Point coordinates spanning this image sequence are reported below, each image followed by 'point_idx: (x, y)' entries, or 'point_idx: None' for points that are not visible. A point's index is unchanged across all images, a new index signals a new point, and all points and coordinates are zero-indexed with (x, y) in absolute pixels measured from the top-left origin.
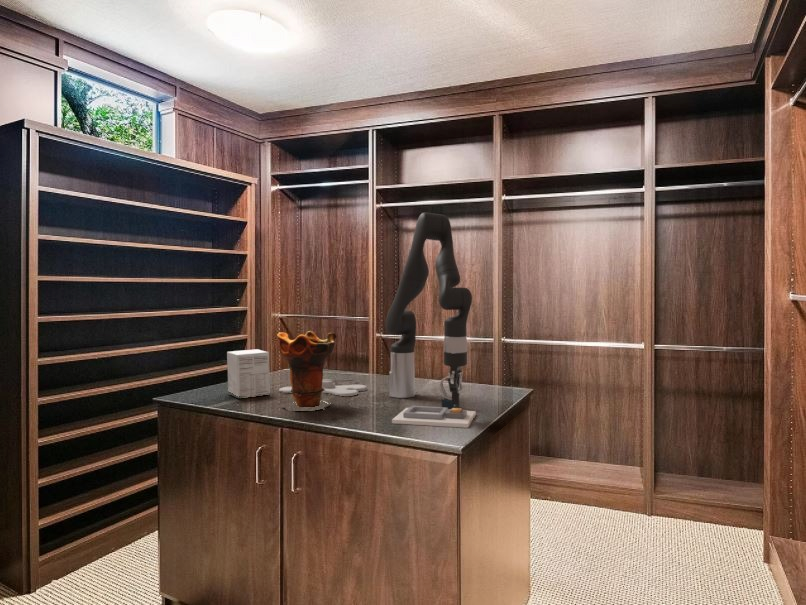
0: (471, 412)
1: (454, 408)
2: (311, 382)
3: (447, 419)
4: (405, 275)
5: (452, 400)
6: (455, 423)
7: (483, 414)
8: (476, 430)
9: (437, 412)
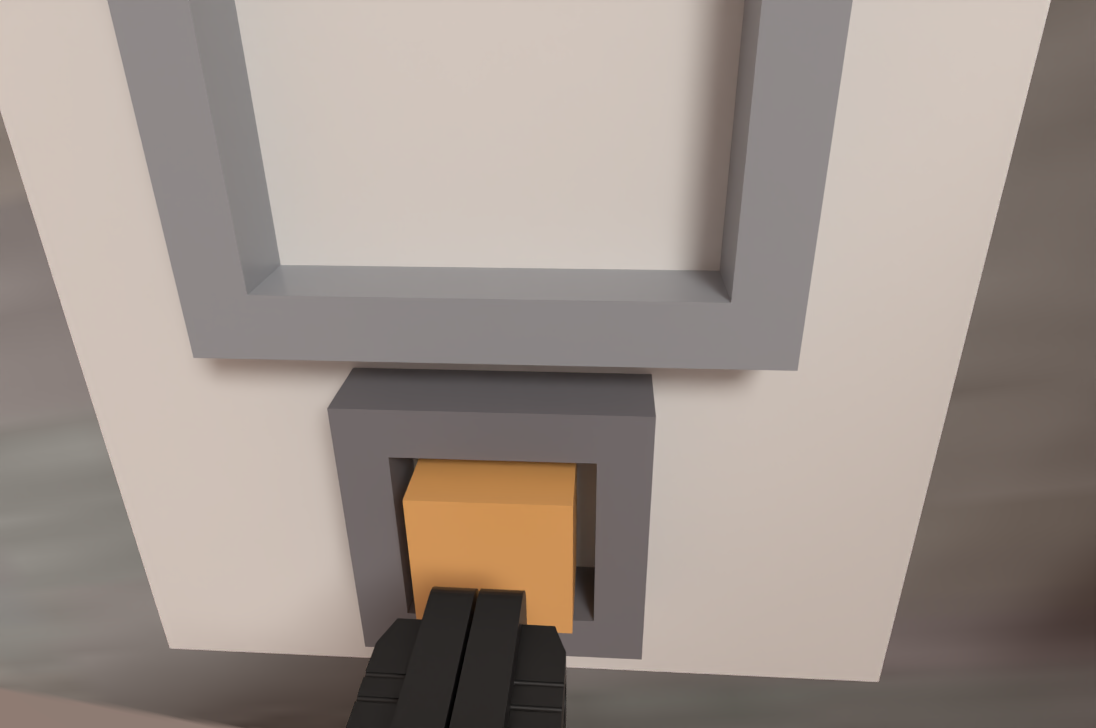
0: (785, 643)
1: (532, 538)
2: None
3: (278, 404)
4: None
5: (422, 643)
6: (132, 523)
7: (888, 710)
8: (136, 687)
9: (725, 154)
